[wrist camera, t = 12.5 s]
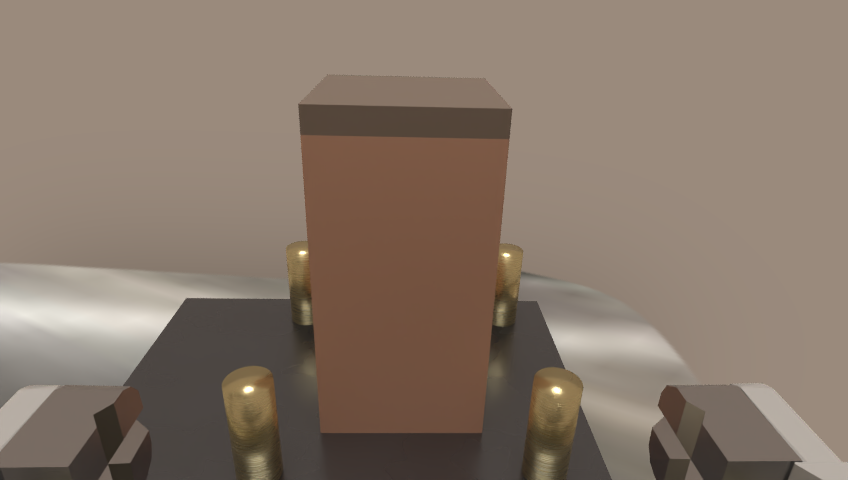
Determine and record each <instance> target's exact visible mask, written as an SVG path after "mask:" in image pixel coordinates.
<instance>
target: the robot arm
mask: <svg viewBox="0 0 848 480" xmlns="http://www.w3.org/2000/svg"><path fill="white" fill-rule="evenodd" d="M658 406H659V408H660V410H661V411H662V413H663V415H664V416H665V417H663V418H662V419H661V420H660V421H659V422H658V423H657V424H656V425H655V426H654V427H652V432H651V436H650V441H649V452H650V463H651V466H652V469H653V473H654V476H655V478H656V480H848V462H842V461H841V460H840V459H839V458H838V457H837V456H836V455H835V454H834V453H833V452H832V451H831V450H830V448H828V447H827V446H826V444H825V443H824V442H823V441H822V440H821V439H820V438H819V437H818V436H817V435H816V434H815V433H814V432H813V431H812V430H811V428H810V427H809V426H808V425H807V424H806V423H805V422H804V421H803V420H802V419H801V418H800V417H799V416H798V415H797V413H796V412H795V411H794V410H793V409H792V408H791V407H790V406H789V405H788V404H787V403H786V402H785V401H784V400H783V399H782V398H781V397H780V396H779V394H778V393H777V392H776V391H775V390H774V389H773V388H771V387H770V386H767V385H765V384H763V383H746V384H730V385H667V386H666V387H665V389H664V390H663V391H662V393H661V396H660V400H659V404H658ZM142 409H143V405H142V401H141V398H140V394H139V391H138V390H137V389H135V388H133V387H131V386H84V385H64V386H59V385H30V386H27V387H25V388H22V389H20V390H19V391H18V392H17V393H16V394H15V395H14V396H13V397H12V398H11V399H10V400H9V401H8V402H7V403H6V404H5V405H4V406H3V407H2V408H1V409H0V480H146V479H147V475H148V471H149V467H150V463H151V459H152V443H151V438H150V434H149V430H148V429H147V428H145V427H144V426H143V425H142V424H141V423H140V422H139V421H137V420H136V419H137V417H138V416H139V414H140V412H141V411H142Z"/></svg>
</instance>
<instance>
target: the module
mask: <svg viewBox="0 0 848 480" xmlns="http://www.w3.org/2000/svg"><path fill="white" fill-rule="evenodd" d="M298 105H299V119H300V134H301V149H302V164H303V179H304V192H305V193H304V194H305V208H306V223H307V238H308V253H309V268H310V283H311V298H312V313H313V327H314V342H315V357H316V372H317V387H318V402H319V417H320V431H321V433H482V429H483V418H484V407H485V397H486V386H487V375H488V364H489V354H490V343H491V332H492V321H493V310H494V300H495V289H496V278H497V267H498V256H499V246H500V235H501V224H502V213H503V202H504V191H505V181H506V180H505V179H506V169H507V158H508V148H509V138H510V127H511V116H512V108H511V107H510V106H509V105H508V104H507V102H506V101H505V100H504V99H503V98H502V97H501V96H500V95H499V94H498V93H497V92H496V90H495V89H494V88H493V87H492V86H491V85H490V84H489V83H488V81H487V80H486V79H484V78H442V77H402V76H361V75H358V76H357V75H327V76H326V77H325V78H324V79H323V80H322V81H321V82H320V83H319V84H318V85H317V86H316V87H315V88H314V89H313V90H312V91H311V92H310V93H309V94H308V95H307V96H306V97H305V98H304V99H303V100H302V101H301V102H300V103H299V104H298Z"/></svg>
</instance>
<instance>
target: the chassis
mask: <svg viewBox="0 0 848 480" xmlns="http://www.w3.org/2000/svg"><path fill="white" fill-rule="evenodd" d="M286 254H287V266H288V278H289V289H290V299H210V298H186V299H185V301H184V302H183V304H182V305H181V306H180V308H179V309H178V311H177V312H176V313H175V315H174V316H173V317H172V319H171V320H170V322H169V323H168V324H167V326H166V327H165V329H164V330H163V331H162V333H161V334H160V335H159V337H158V338H157V340H156V341H155V342H154V344H153V345H152V346H151V348H150V349H149V351H148V352H147V353H146V355H145V356H144V358H143V359H142V360H141V362H140V363H139V364H138V366H137V367H136V369H135V370H134V371H133V373H132V374H131V375H130V377H129V378H128V380H127V381H126V382H125V384H124V385H123V386H131V387H133V388H135V389H137V390H138V391H139V394H140V398H141V401H142V405H143V409H142V411H141V412H140V414H139V416H138V417H137V419H136V420H137V421H139V422H140V423H141V424H142V425H143V426H144V427H145V428H147V429H148V430H149V434H150V438H151V443H152V459H151V463H150V467H149V471H148V475H147V479H146V480H612V479H611V477H610V475H609V472H608V470H607V467H606V465H605V463H604V460H603V458H602V456H601V453H600V451H599V448H598V446H597V444H596V441H595V439H594V436H593V434H592V432H591V429H590V427H589V425H588V422H587V420H586V417H585V415H584V413H583V410H582V408H581V406H580V402H581V397H582V391H583V383H582V381H581V380H580V378H579V377H578V376H577V375H575V374H574V373H572V372H570V371H568V370H565V367H564V365H563V363H562V360H561V358H560V356H559V353H558V351H557V348H556V346H555V344H554V341H553V339H552V336H551V334H550V332H549V329H548V327H547V325H546V322H545V320H544V317H543V315H542V313H541V310H540V308H539V305H538V303H537V301H518V293H519V284H520V276H521V267H522V257H523V250H522V249H521V248H520V247H518V246H516V245H512V244H500V246H499V256H498V267H497V278H496V289H495V300H494V310H493V321H492V332H491V343H490V354H489V364H488V375H487V386H486V397H485V407H484V418H483V429H482V433H321V431H320V417H319V402H318V387H317V372H316V357H315V342H314V327H313V313H312V298H311V283H310V268H309V253H308V241H299V242H294V243H292V244H290V245H288V246H287V247H286Z"/></svg>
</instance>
